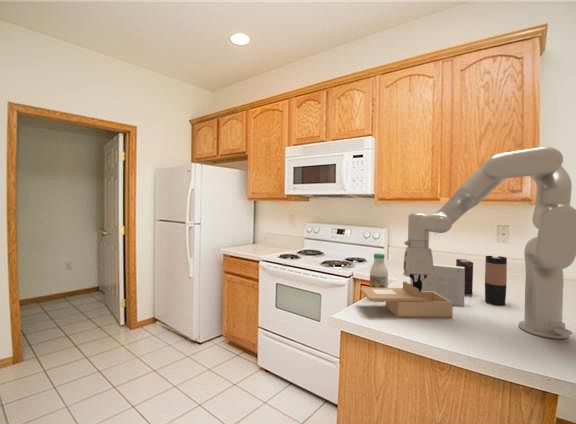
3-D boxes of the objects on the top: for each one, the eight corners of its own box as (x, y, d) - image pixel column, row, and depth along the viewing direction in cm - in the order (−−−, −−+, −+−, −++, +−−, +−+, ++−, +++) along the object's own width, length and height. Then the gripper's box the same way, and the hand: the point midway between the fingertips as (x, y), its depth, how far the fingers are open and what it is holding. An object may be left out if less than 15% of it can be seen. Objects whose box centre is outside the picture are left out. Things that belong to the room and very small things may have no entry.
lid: (424, 301, 108) (425, 290, 108) (369, 300, 108) (369, 290, 108) (408, 290, 123) (408, 280, 123) (359, 289, 123) (359, 280, 122)
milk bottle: (373, 295, 137) (374, 252, 137) (390, 298, 132) (391, 254, 132) (366, 298, 131) (367, 254, 131) (383, 302, 126) (384, 256, 126)
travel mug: (496, 306, 123) (497, 258, 122) (480, 301, 130) (481, 255, 130) (510, 305, 125) (511, 258, 124) (493, 299, 132) (494, 255, 132)
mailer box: (452, 318, 109) (452, 302, 109) (398, 317, 109) (398, 301, 108) (433, 305, 123) (433, 291, 123) (385, 305, 123) (385, 290, 122)
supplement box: (473, 296, 136) (473, 262, 136) (461, 295, 137) (462, 261, 137) (465, 291, 145) (466, 259, 145) (455, 290, 146) (455, 258, 146)
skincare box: (464, 303, 126) (465, 266, 126) (463, 307, 122) (464, 268, 122) (412, 295, 138) (412, 261, 138) (409, 297, 133) (410, 263, 133)
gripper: (403, 245, 111) (402, 293, 112) (442, 246, 112) (441, 294, 112) (395, 243, 119) (394, 288, 119) (432, 243, 119) (431, 288, 119)
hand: (417, 291), depth 116 cm, fingers closed
